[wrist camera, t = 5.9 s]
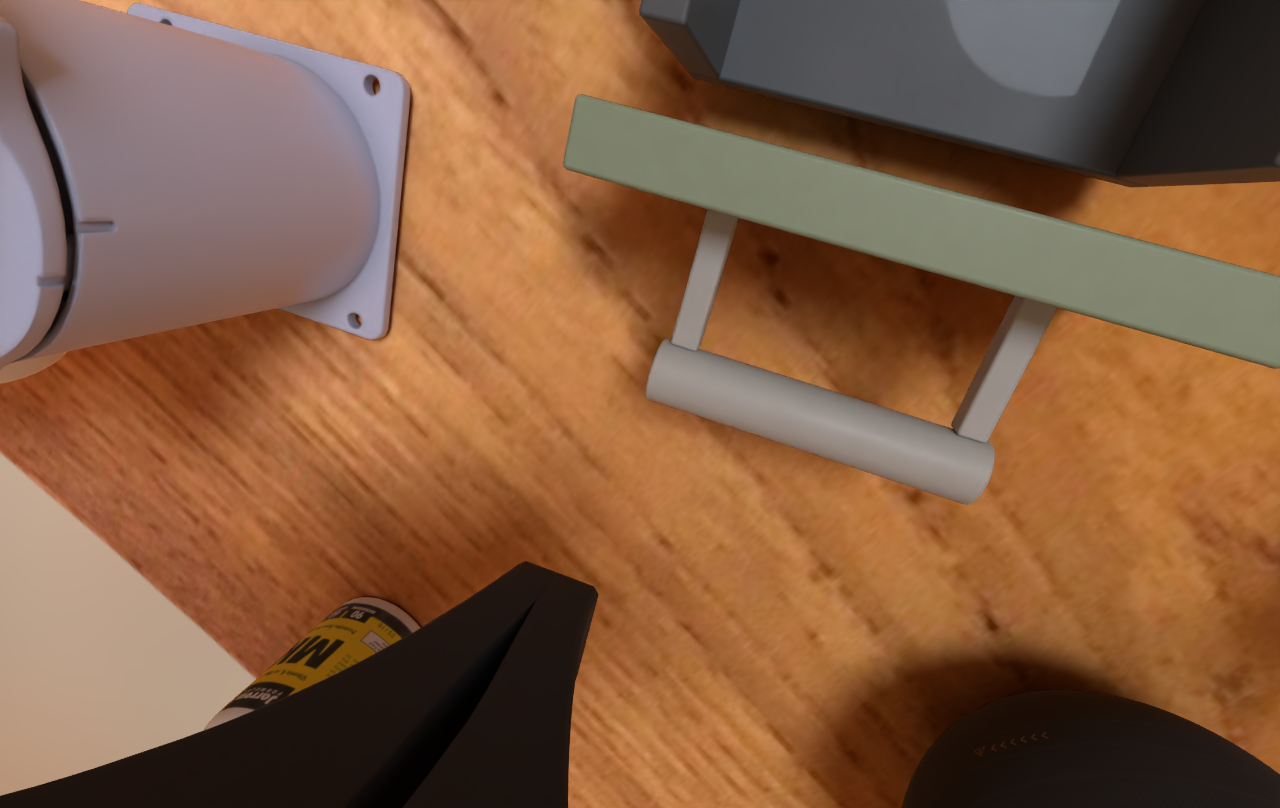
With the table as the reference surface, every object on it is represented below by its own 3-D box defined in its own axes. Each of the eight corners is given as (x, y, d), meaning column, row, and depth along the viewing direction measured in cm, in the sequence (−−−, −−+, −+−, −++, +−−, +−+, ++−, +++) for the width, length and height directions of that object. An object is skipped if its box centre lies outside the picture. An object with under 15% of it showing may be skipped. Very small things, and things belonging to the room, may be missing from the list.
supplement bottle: (387, 576, 23) (185, 760, 16) (458, 668, 24) (298, 888, 16) (313, 617, 25) (100, 801, 18) (381, 702, 26) (205, 915, 18)
